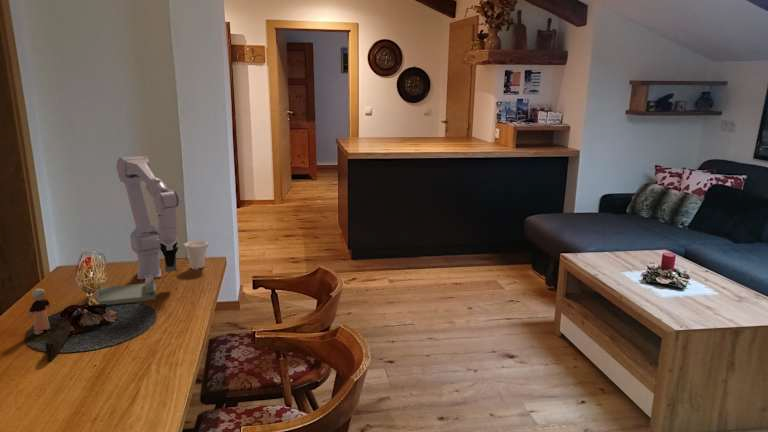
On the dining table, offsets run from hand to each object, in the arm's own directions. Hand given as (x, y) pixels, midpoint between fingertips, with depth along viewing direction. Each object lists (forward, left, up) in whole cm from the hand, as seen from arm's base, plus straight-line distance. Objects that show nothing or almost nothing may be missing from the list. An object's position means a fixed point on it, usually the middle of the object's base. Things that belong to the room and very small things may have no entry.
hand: (170, 264), depth 192 cm
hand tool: (+37, -29, -9) cm, 48 cm away
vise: (+4, -15, -8) cm, 18 cm away
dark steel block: (0, 0, -2) cm, 2 cm away
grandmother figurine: (+25, -35, -9) cm, 44 cm away
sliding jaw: (+4, -7, -7) cm, 10 cm away
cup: (-19, +10, -9) cm, 23 cm away
